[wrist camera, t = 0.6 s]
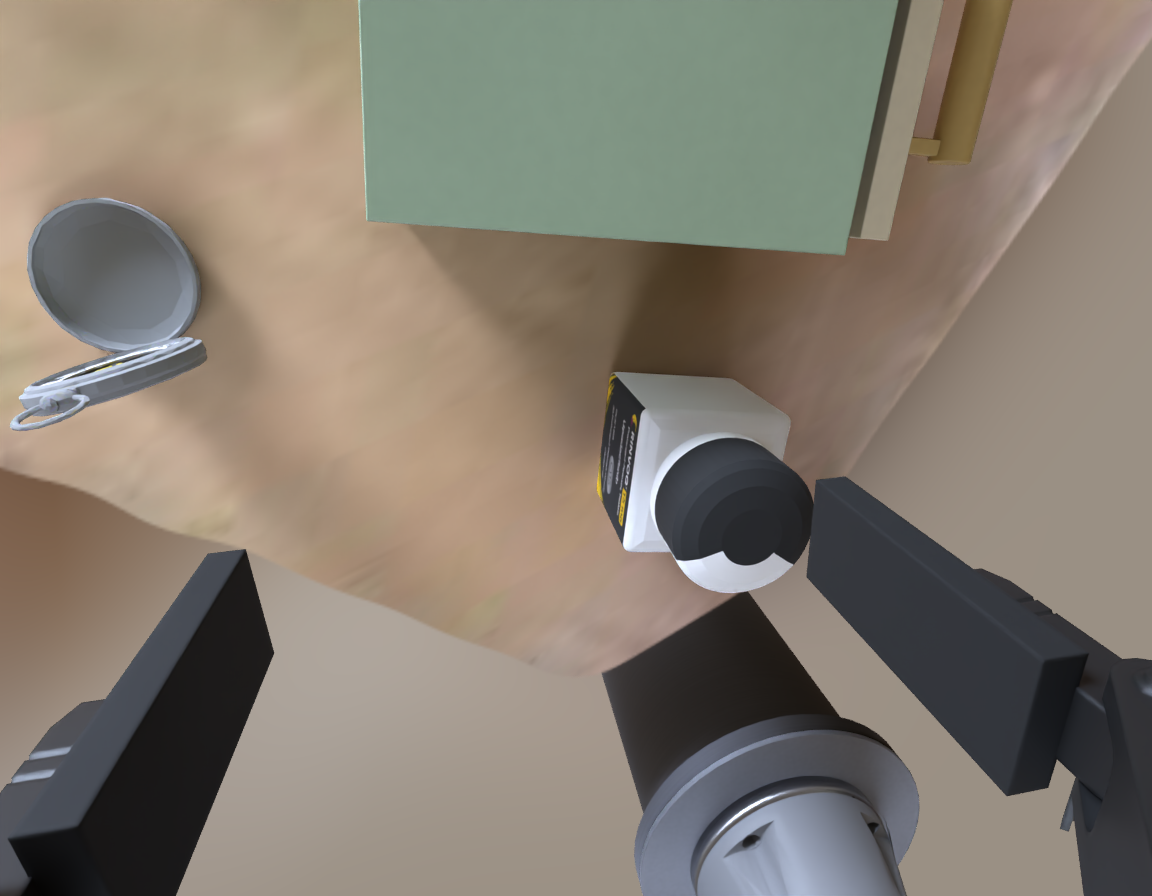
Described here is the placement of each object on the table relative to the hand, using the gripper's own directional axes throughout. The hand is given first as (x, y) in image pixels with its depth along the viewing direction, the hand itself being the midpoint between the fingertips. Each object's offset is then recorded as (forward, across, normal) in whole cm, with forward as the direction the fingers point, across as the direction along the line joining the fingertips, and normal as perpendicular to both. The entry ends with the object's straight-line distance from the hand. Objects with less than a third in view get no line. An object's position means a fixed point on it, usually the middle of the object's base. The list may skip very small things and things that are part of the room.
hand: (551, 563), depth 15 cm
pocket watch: (+20, +16, -4) cm, 26 cm away
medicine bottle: (+20, -9, +5) cm, 22 cm away
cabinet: (+20, -5, -14) cm, 25 cm away
